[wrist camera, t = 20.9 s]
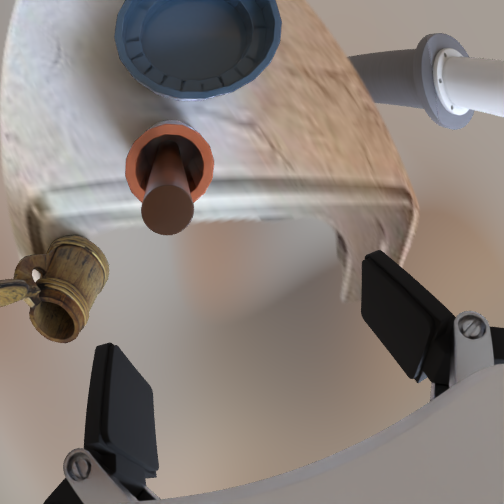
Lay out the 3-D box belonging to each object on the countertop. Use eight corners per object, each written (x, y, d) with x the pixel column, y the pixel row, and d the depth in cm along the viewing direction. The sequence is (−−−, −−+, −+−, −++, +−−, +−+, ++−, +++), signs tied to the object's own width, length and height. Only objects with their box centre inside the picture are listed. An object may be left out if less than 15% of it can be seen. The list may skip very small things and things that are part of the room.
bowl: (245, -26, 21) (260, -46, 16) (275, 83, 29) (296, 79, 24) (112, 5, 20) (102, -14, 14) (143, 119, 28) (137, 121, 22)
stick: (175, 137, 29) (184, 177, 12) (182, 157, 30) (200, 225, 13) (154, 144, 29) (133, 196, 12) (161, 164, 30) (152, 242, 13)
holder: (190, 112, 29) (200, 112, 19) (206, 167, 32) (223, 194, 23) (131, 132, 28) (113, 143, 18) (150, 187, 31) (143, 222, 22)
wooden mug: (66, 191, 28) (-7, 270, 13) (121, 278, 35) (105, 391, 20) (18, 226, 28) (-53, 312, 13) (73, 303, 35) (45, 409, 20)
